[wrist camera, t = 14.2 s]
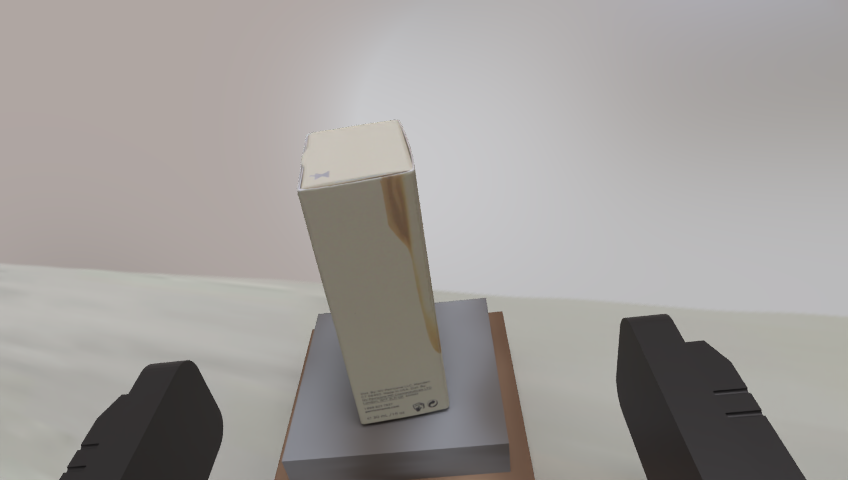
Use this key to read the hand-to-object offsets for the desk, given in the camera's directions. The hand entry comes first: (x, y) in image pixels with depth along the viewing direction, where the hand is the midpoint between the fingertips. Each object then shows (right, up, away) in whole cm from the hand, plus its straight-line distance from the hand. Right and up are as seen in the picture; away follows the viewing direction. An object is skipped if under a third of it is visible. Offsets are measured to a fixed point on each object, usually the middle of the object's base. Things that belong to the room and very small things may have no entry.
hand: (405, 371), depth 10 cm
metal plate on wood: (0, -8, +20) cm, 22 cm away
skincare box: (-1, -4, +18) cm, 18 cm away
